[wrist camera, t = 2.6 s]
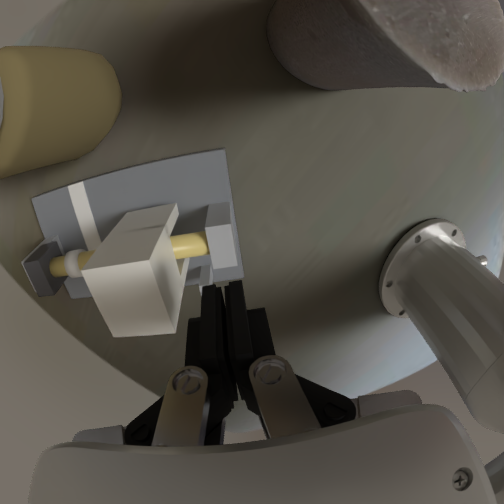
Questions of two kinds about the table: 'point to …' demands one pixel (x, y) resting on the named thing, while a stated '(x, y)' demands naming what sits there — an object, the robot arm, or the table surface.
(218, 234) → the gray assembly board
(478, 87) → the pillar candle
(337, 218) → the table surface
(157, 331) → the white block
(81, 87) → the squeeze bottle
